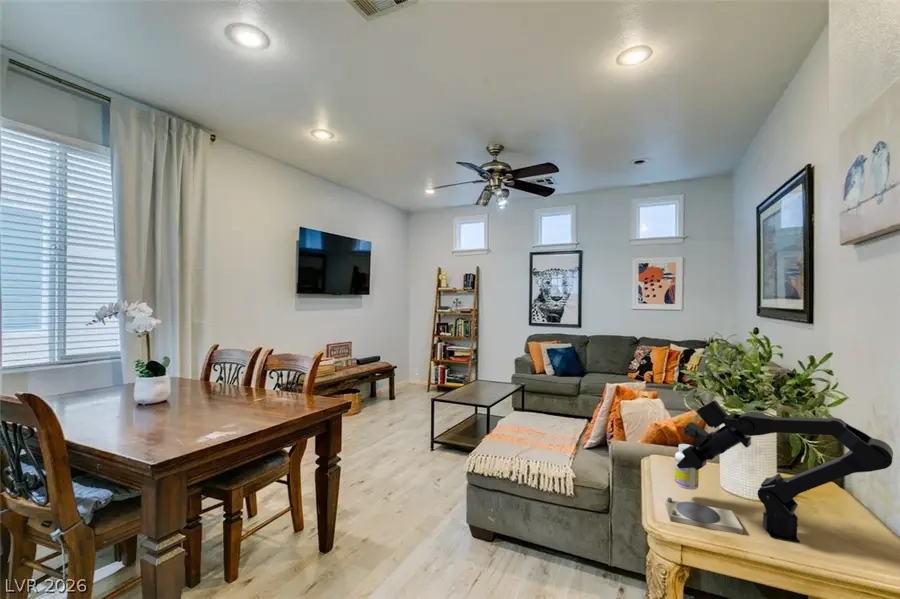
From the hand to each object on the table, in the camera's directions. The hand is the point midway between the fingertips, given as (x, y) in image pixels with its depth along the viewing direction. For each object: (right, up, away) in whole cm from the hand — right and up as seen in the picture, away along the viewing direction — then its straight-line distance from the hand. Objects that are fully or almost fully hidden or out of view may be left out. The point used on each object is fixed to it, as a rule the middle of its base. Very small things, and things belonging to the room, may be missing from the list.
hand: (682, 463), depth 130 cm
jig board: (-1, -11, -12) cm, 16 cm away
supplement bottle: (+1, -7, -1) cm, 7 cm away
